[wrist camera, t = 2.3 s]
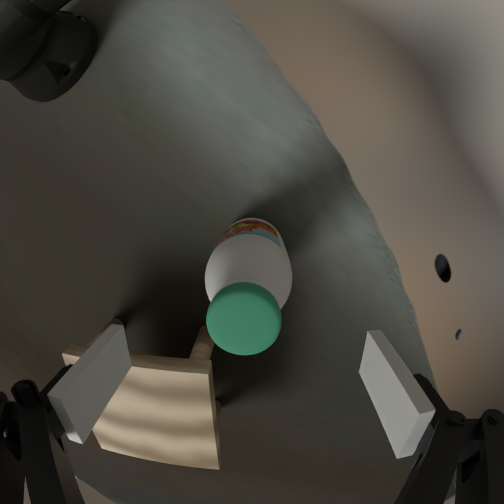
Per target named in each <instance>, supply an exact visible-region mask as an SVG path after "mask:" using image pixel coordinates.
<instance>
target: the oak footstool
mask: <svg viewBox="0 0 504 504" xmlns="http://www.w3.org/2000/svg"><path fill="white" fill-rule="evenodd" d="M111 324H116V325H123V326H124V324H123V323H122V321H121V320H119V319H117V318H114V319H112V320H111V321H110V322H109V323H108V324H107V325H106V326H105V327H104V328H103V329H102V331H101V332H100V333H99V334H98V335H97V336H96V337H95V338H94V339H93V340H92V341H91V342H90V343H89V344H88V346H83V345H78V344H73V343H72V344H71V345H70V346H69V347H68V348H67V349H66V350H65V351H64V352H63V353H62V355H63V358H64V361H65V364H66V366H67V365H69V364H73V365H74V364H75V363H76V361H77V360H78V359H79V358H80V357H81V356H82V355H83V354H84V353H85V352H86V351H87V349H88V348H89V347H90V346H91V345H92V344H93V343H94V342H95V341H96V340H97V339H98V338H99V337H100V336H101V335H102V333H103V332H104V331H105V330H106V329H107V328H108V327H109V326H110V325H111ZM213 346H214V341H213V339H212V338H211V336H210V334H209V332H208V329H207V325H204V326H202V327H201V328H200V330H199V333H198V336H197V338H196V341H195V344H194V346H193V349H192V352H191V354H190V357H189V359H184V358H173V357H162V356H153V355H144V354H136V353H129V356H130V360H131V365H132V367H131V368H130V370H129V371H128V373H127V374H126V376H125V377H124V379H123V381H122V382H121V384H120V385H119V387H118V388H117V390H116V392H115V393H114V395H113V396H112V398H111V400H110V401H109V403H108V404H107V406H106V408H105V409H104V411H103V412H102V414H101V416H100V417H99V419H98V421H97V422H96V424H95V425H94V427H93V429H92V430H93V432H94V434H95V436H96V438H97V440H98V442H99V444H100V446H101V448H102V449H106V450H109V451H113V452H117V453H121V454H125V455H129V456H133V457H138V458H142V459H147V460H152V461H158V462H163V463H169V464H176V465H182V466H190V467H198V468H208V469H219V468H220V461H221V452H220V443H219V434H218V424H219V418H220V412H221V403H220V402H219V401H217V400H215V395H214V384H213V372H212V360H210V357H211V353H212V349H213Z"/></svg>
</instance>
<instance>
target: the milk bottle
mask: <svg viewBox="0 0 504 504" xmlns="http://www.w3.org/2000/svg"><path fill="white" fill-rule="evenodd" d="M205 286H206V291H207V295H208V297H209V300H210V302H211V303H210V305H209V308H208V311H207V316H206V324H207V329H208V332H209V334H210V336H211V338H212V339H213V341H214V342H215V343H216V344H217V345H218V346H219V347H221V348H222V349H224V350H225V351H227V352H230V353H233V354H237V355H253V354H257V353H260V352H262V351H264V350H266V349H267V348H268V347H270V346H271V345H272V344H273V343H274V342H275V340H276V339H277V337H278V335H279V332H280V329H281V323H282V322H281V311H280V310H281V308H282V307H283V306H284V304H285V303H286V301H287V299H288V296H289V294H290V291H291V286H292V270H291V265H290V261H289V257H288V254H287V251H286V248H285V245H284V243H283V240H282V238H281V235H280V234H279V232H278V231H277V229H276V228H275V227H274V226H273V225H272V224H270V223H269V222H267V221H265V220H262V219H259V218H244V219H241V220H239V221H237V222H235V223H233V224H232V225H231V226H230V227H229V228H228V229H227V230H226V231H225V233H224V234H223V235H222V237H221V239H220V240H219V242H218V243H217V245H216V247H215V249H214V250H213V252H212V254H211V256H210V259H209V261H208V263H207V267H206V272H205Z"/></svg>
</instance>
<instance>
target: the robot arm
mask: <svg viewBox="0 0 504 504" xmlns="http://www.w3.org/2000/svg"><path fill="white" fill-rule="evenodd" d="M70 1H71V0H0V79H1V80H5V81H8V82H10V83H11V84H12V85H13V86H14V87H15V88H16V89H17V90H18V91H19V92H21V93H22V95H23V96H25V97H26V98H28V99H31V100H35V101H38V102H47V101H51V100H54V99H56V98H58V97H59V96H61V95H62V94H64V93H65V92H66V91H68V90H69V89H70V88H71V87H72V86H73V85H74V84H75V83H76V82H77V81H78V79H79V78H80V77H81V76H82V74H83V73H84V71H85V70H86V68H87V66H88V65H89V63H90V61H91V59H92V56H93V54H94V51H95V47H96V41H97V33H96V29H95V26H94V25H93V23H92V22H91V21H90V20H88V19H87V18H86V17H85V16H83V15H81V14H78V13H73V12H67V11H60V9H61V8H62V7H64V6H65V5H66V4H67V3H69V2H70ZM131 367H132V365H131V360H130V356H129V351H128V347H127V342H126V337H125V332H124V326H123V325H116V324H111V325H110V326H109V327H108V328H107V329H106V330H105V331H104V332H103V333H102V335H101V336H100V337H99V338H98V339H97V340H96V341H95V342H94V343H93V344H92V345H91V346H90V347H89V348H88V349H87V351H86V352H85V353H84V354H83V355H82V356H81V357H80V358H79V359H78V360H77V361H76V363H75V364H74V365H73V364H69V365H67V366H65V367H64V368H62V369H61V370H60V371H59V372H58V373H57V376H55V377H54V378H53V380H51V381H50V382H49V383H48V384H47V385H46V386H45V388H44V389H43V390H42V391H41V392H40V393H39V391H38V388H37V386H36V384H35V382H33V381H32V380H21V381H18V382H17V383H15V384H14V385H13V386H12V388H11V392H12V394H13V396H14V398H15V400H16V402H14V401H9V400H8V398H7V396H6V394H5V393H3V392H0V504H23V500H24V482H25V477H26V482H27V487H28V492H29V497H30V501H31V504H85V503H84V500H83V498H82V495H81V493H80V490H79V487H78V484H77V482H76V479H75V476H74V473H73V470H72V467H71V463H70V460H69V457H68V453H67V450H66V446H65V443H64V440H63V438H62V435H63V433H64V432H66V434H67V436H68V438H69V439H70V440H72V441H75V442H78V443H81V444H84V442H85V440H86V439H87V437H88V435H89V434H90V432H91V430H92V429H93V427H94V425H95V424H96V422H97V421H98V419H99V417H100V416H101V414H102V412H103V411H104V409H105V408H106V406H107V404H108V403H109V401H110V400H111V398H112V396H113V395H114V393H115V392H116V390H117V388H118V387H119V385H120V384H121V382H122V381H123V379H124V377H125V376H126V374H127V373H128V371H129V370H130V368H131ZM359 373H360V375H361V378H362V380H363V382H364V384H365V386H366V388H367V391H368V393H369V395H370V397H371V400H372V402H373V404H374V406H375V409H376V411H377V413H378V415H379V418H380V420H381V422H382V425H383V427H384V429H385V432H386V434H387V436H388V439H389V441H390V443H391V446H392V448H393V451H394V453H395V455H396V458H397V459H398V458H402V457H406V456H410V455H413V453H414V451H415V450H416V448H417V446H418V448H419V450H420V452H421V453H420V454H419V456H418V458H417V459H416V461H415V462H414V464H413V466H412V467H413V469H412V471H411V473H410V475H409V477H408V479H407V481H406V483H405V485H404V487H403V489H402V491H401V492H400V494H399V496H398V498H397V500H396V501H395V503H394V504H443V503H444V501H445V498H446V495H447V493H448V490H449V487H450V484H451V482H452V479H453V476H454V472H455V469H456V466H457V479H456V497H455V504H504V414H503V413H502V412H501V411H498V410H496V409H488V410H486V411H484V413H483V414H482V416H481V418H479V419H466V417H465V416H464V415H463V414H461V413H460V412H457V411H451V410H449V408H448V407H447V406H446V404H445V403H444V401H443V400H442V399H441V397H440V396H439V394H438V393H436V390H435V389H434V387H432V384H431V383H430V382H429V380H428V379H427V378H425V377H424V376H422V375H421V374H415V375H412V374H411V372H410V371H409V369H408V368H407V366H406V365H405V363H404V362H403V361H402V359H401V358H400V356H399V355H398V354H397V352H396V351H395V349H394V348H393V346H392V345H391V344H390V342H389V341H388V340H387V338H386V337H385V335H384V334H383V333H382V331H381V330H374V331H368V332H367V337H366V343H365V348H364V352H363V357H362V362H361V366H360V371H359Z"/></svg>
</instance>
